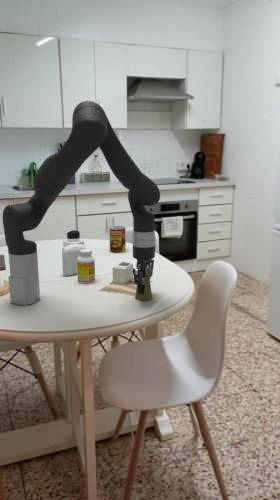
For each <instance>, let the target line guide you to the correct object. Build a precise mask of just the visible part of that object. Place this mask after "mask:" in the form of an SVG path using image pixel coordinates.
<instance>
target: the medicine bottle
mask: <svg viewBox="0 0 280 500" xmlns="http://www.w3.org/2000/svg"><path fill="white" fill-rule="evenodd" d="M80 236H81V234H80V231H79V230H77V229H73V230H72V229H71V230H68V231H67V232H66V240H64V241H62V245H63V248H64V247H66V246H68V245H72V244H81V245H85V241H84V240H83V239H81V237H80ZM63 248H62V249H63Z"/></svg>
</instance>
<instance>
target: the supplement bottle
mask: <svg viewBox="0 0 280 500" xmlns="http://www.w3.org/2000/svg"><path fill="white" fill-rule="evenodd" d="M92 253H93V250H92V249H89V248H86V249H82V250H80V256H79V257H78V259H77V269H78V274H77V282H78V284H82V285H90V284H93V283H95V282H96V263H95V261H96V259H95V257H94V256H93V255H92Z"/></svg>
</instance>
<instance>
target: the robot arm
mask: <svg viewBox="0 0 280 500" xmlns="http://www.w3.org/2000/svg"><path fill="white" fill-rule="evenodd" d="M71 122H72V123H71V124H72V126H71V131H70V134H69V136H68V138H67V139H66V141H65V143H64V144H63V145H62V147H61V149H60V150H59V151H57V152H56V153H53V154H51V155H50V156H48V157H46V159H45V160H44V161H43V162H42V163H41V165H40V166H39V167H38V169H37V171H36V172H35V174H34V175H33V176H34V177H33V189H34V193H33V194H32V196H31V197H30V198H29V199H28V201H25V202H22V203H14V204H8V205H6V206H5V207H4V208H3V211H2V225H3V232H4V240H5V243H6V246H7V252H8V262H9V263H8V265H9V276H8V288H9V299H10V303H11V304H13V305H19V306H24V307H25V306H28V305H32V304H35V303H37V302H39V301H40V299H41V293H40V291H41V290H40V275H39V262H38V260H39V259H38V258H39V257H38V246H37V243H36V242H35V241H33V240H28V239H25V236H24V232H29V231H32V230H34V229H36V228H37V227H39V226H40V224H41V222H42V220H44V217H45V215H46V213H47V212H48V210H49V209H50V207H51V205H53V203H54V202H55V200H56V199H57V198H58V196H59V195H60V194H61V193H62V192H63V190H64V189H65V188H66V187H67V185H68V184H69V183H70V181H71V180H72V179H73V177H74V176H75V175H76V173H77V172H78V170H79V169H80V168H81V167H82V165H83V164H84V163H85V162H86V161H87V160H88V158H89V157H91V156H92V155H93V154H94V153H95V151H97V150H98V149H100V151H101V153H102V155H103V156H104V158H105V161H106V163H107V165H108V166H109V168H110V170H111V172H112V174H113V175H114V176H115V177H116V179H117V180H118V181H119V183H120V184H121V185H122V186H123V188H125V189H127V191H128V192H127V199H128V203H129V207H130V211H131V215H132V218H133V219H132V220H133V222H132V225H133V228H132V230H133V231H132V257H133V258H134V259H135V260H136V264H135V268H134V267H133V279H134V282H135V284H138V294H139V295H144V287H145V278H146V274H147V270H148V269H149V270H150V271H151V278H150V280H151V279H152V277H153V272H154V263H155V259H154V258H155V257H156V234H155V228H156V227H155V225H156V224H155V222H156V221H155V219H156V218H155V215H154V214H153V213H152V212H150V211H148V209H146V207H147V206H148V207H151V206H152V207H153V206H156V205H157V204H158V203H159V201H160V199H161V191H160V188H159V186H158V185H157V184H156V183H155V182H154V181H153V180H152V179H151V178H150V177H148V176H147V175H146V174H144V173H143V172H142V171H141V169H140V168H139V166H138V165H137V164H136V163H135V162H134V160H133V159H132V157H131V156H130V155H129V153H128V152H127V150H126V149H125V147H124V146H123V144H122V142H121V140H120V139H119V137H118V135H117V134H116V132H115V131H114V129H113V127H112V125H111V123H110V120H109V118H108V116H107V114H106V112H105V110H104V108H103V107H102V106H101V105H100V104H98V103H97V102H94V101H91V100H86V101H85V100H84V101H82V102H79V103H78V104H76V106H75V108H74V109H73V113H72V119H71ZM141 273H144V275H142V274H141ZM142 278H143V279H142ZM139 280H140V281H139Z"/></svg>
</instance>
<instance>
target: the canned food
mask: <svg viewBox="0 0 280 500" xmlns="http://www.w3.org/2000/svg"><path fill="white" fill-rule="evenodd" d="M109 252H110V253H111V254H123V253H125V252H127V251H126V227H125V226H122V225H113V226H110V227H109Z"/></svg>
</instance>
